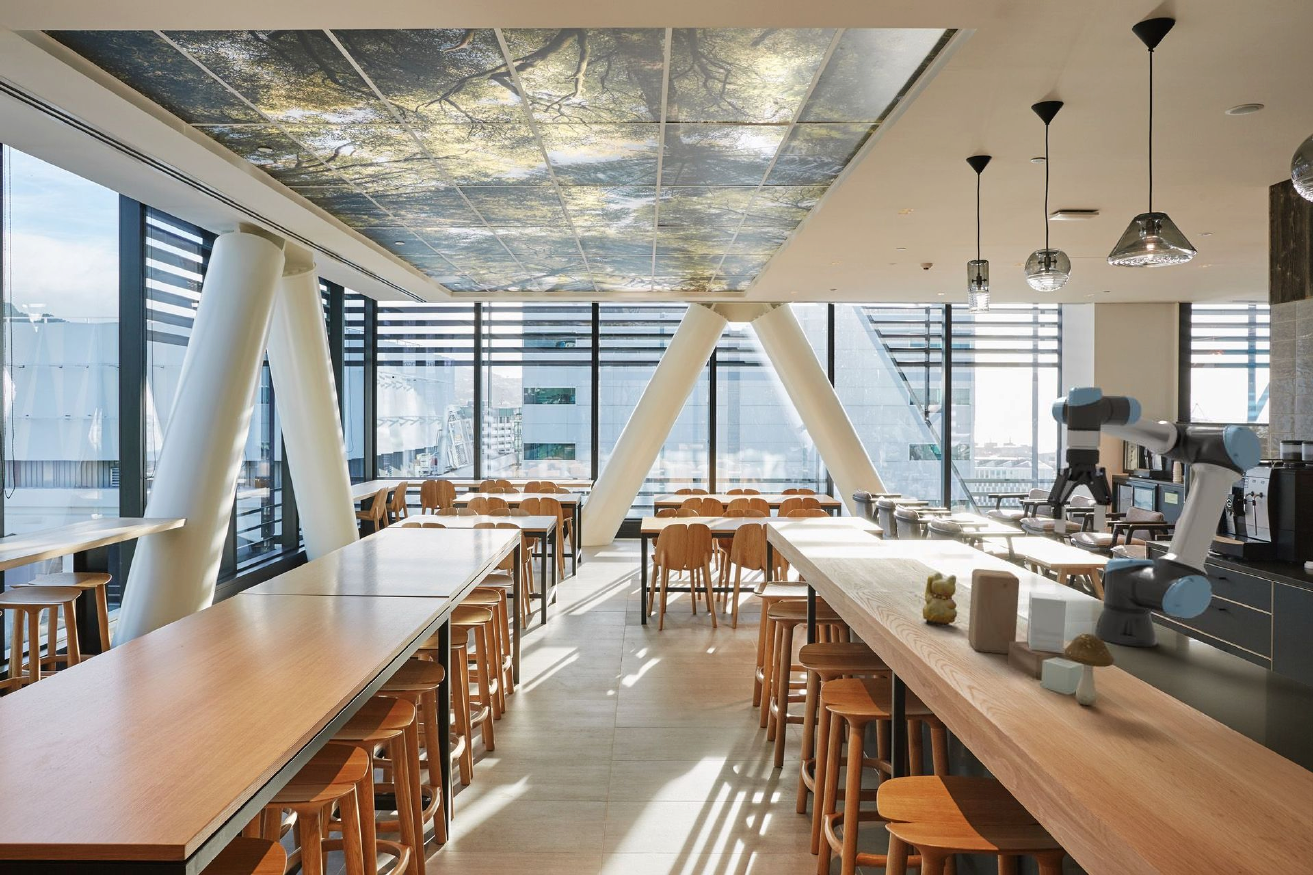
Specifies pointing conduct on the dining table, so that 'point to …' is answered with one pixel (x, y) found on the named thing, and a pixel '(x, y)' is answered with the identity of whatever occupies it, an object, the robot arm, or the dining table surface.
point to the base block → (1030, 658)
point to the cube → (1061, 675)
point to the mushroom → (1088, 663)
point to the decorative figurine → (940, 600)
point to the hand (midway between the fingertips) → (1079, 531)
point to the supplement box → (1046, 622)
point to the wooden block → (993, 610)
